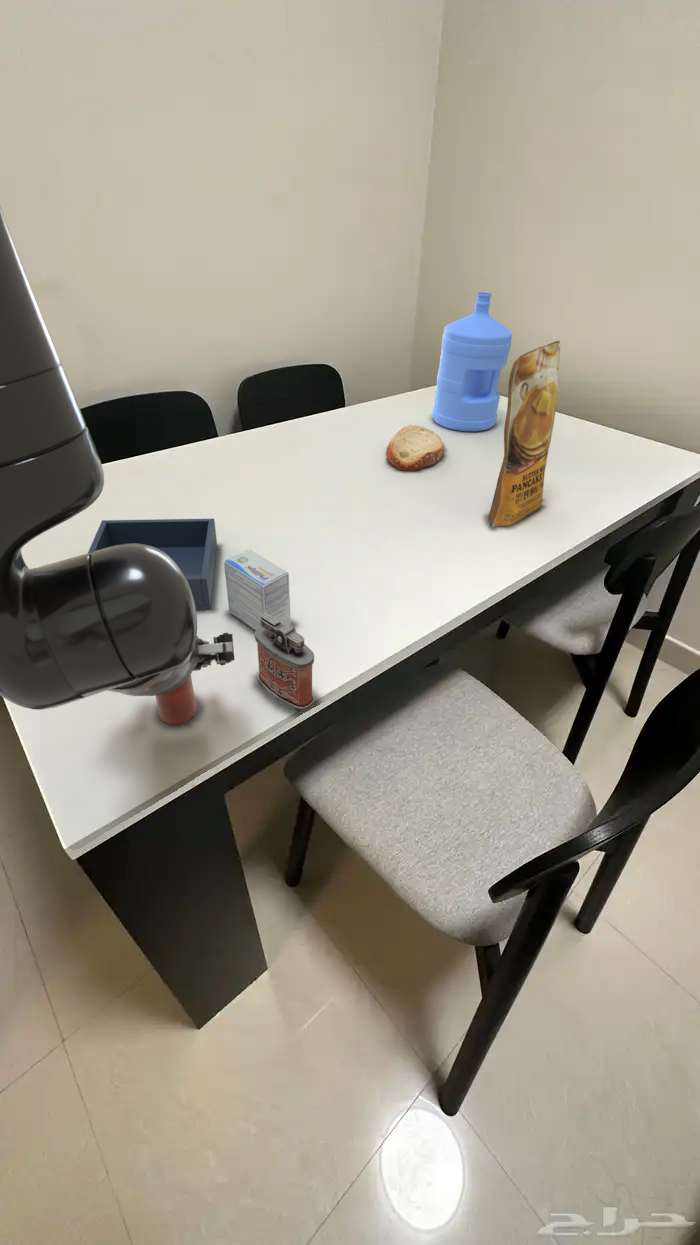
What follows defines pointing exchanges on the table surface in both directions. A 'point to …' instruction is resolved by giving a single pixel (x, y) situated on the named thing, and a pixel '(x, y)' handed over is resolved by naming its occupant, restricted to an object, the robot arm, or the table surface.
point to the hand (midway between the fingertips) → (170, 660)
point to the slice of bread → (414, 448)
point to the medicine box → (256, 589)
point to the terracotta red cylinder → (177, 704)
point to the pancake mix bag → (526, 435)
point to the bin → (171, 547)
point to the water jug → (471, 370)
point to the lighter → (284, 664)
